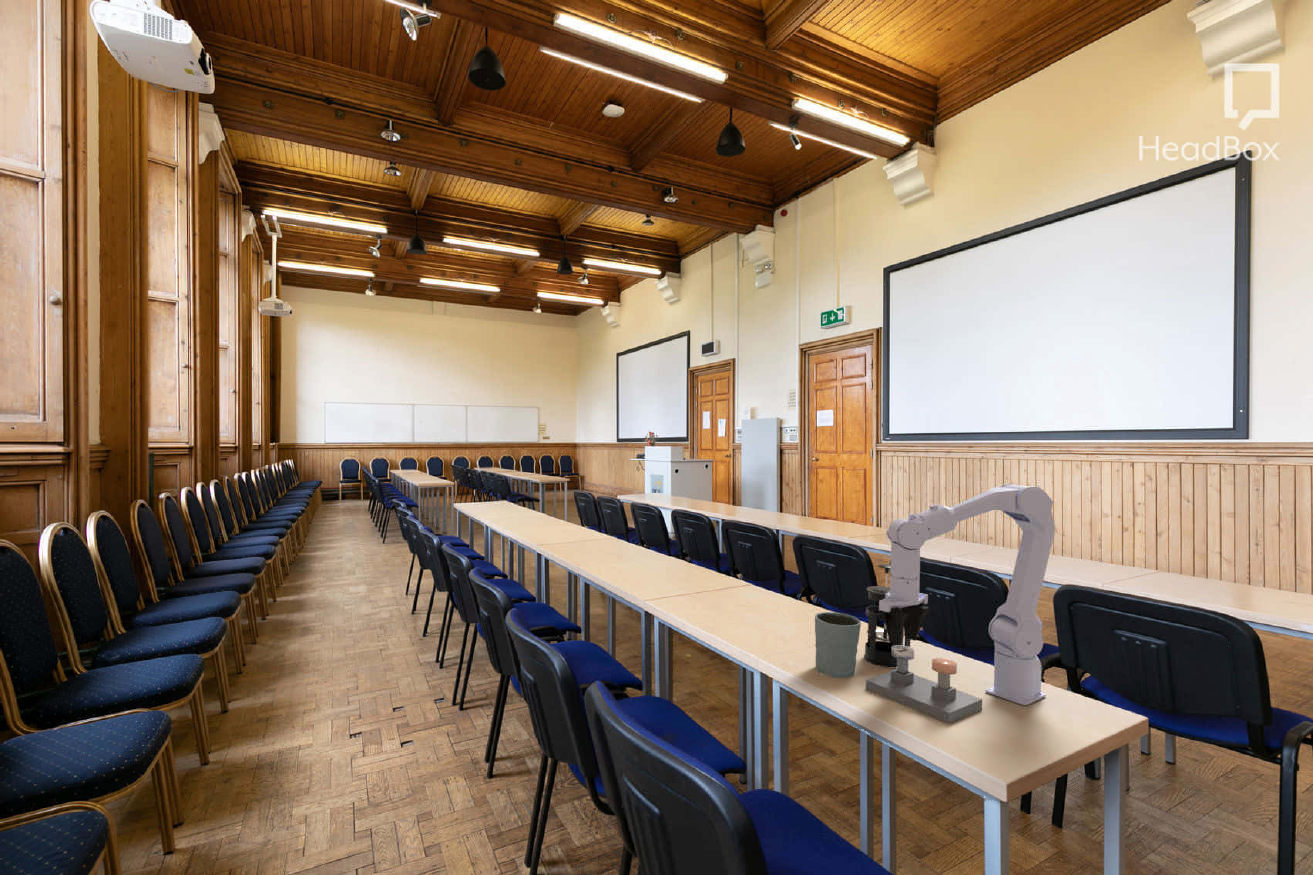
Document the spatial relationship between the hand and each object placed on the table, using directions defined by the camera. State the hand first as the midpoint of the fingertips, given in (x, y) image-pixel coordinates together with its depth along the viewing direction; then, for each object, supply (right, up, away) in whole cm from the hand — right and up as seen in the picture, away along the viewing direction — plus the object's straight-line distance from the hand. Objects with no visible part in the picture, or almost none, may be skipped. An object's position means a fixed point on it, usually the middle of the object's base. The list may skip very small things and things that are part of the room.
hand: (903, 641), depth 124 cm
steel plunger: (0, -7, 0) cm, 7 cm away
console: (+2, -10, -4) cm, 11 cm away
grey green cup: (-11, -11, +10) cm, 18 cm away
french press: (+3, -11, +17) cm, 21 cm away
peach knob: (+5, -7, -8) cm, 12 cm away
